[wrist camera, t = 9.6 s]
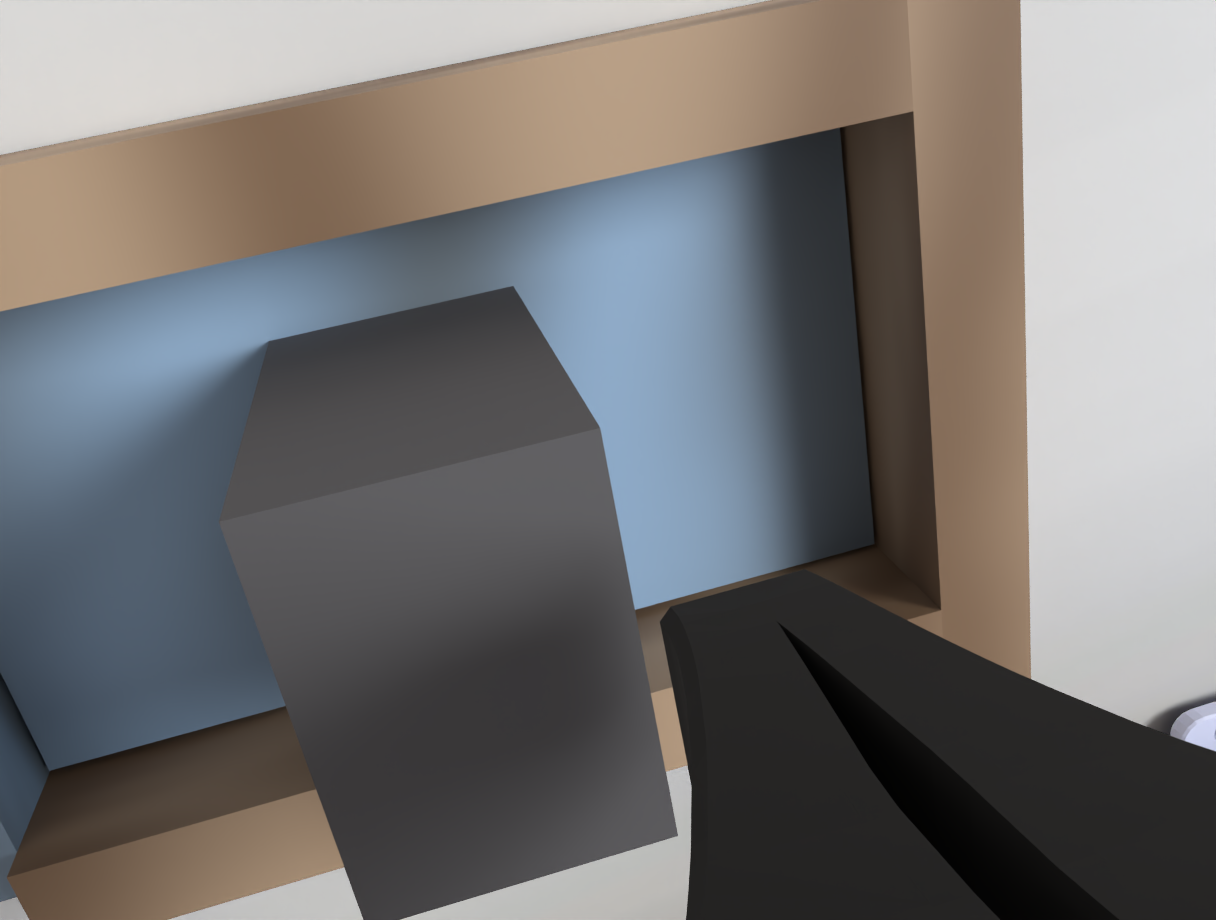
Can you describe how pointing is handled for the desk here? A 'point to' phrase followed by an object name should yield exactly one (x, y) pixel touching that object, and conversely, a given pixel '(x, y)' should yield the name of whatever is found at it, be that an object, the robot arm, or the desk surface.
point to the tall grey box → (446, 602)
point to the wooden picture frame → (577, 333)
